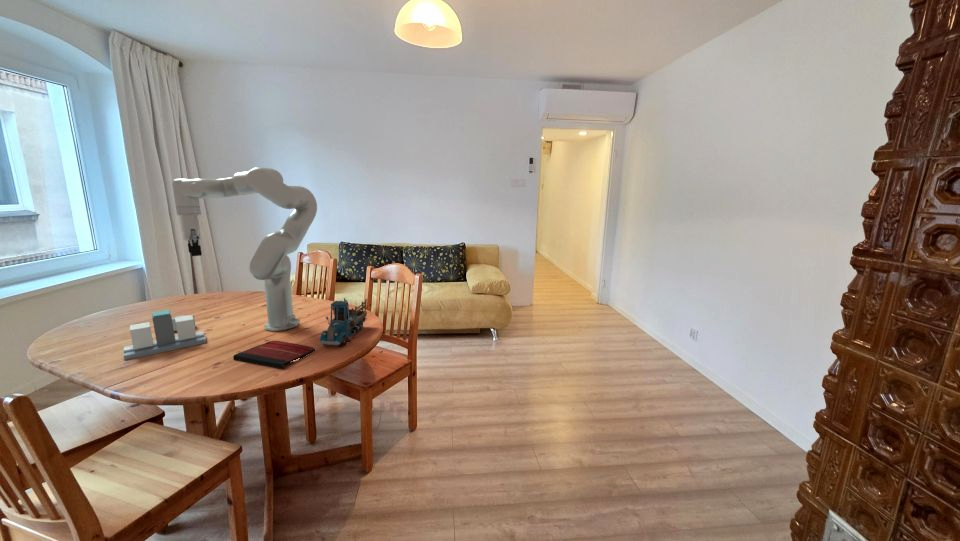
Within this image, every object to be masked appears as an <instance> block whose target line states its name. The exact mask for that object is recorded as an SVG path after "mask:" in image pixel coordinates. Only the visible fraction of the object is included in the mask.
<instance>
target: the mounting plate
mask: <svg viewBox="0 0 960 541" xmlns="http://www.w3.org/2000/svg"><path fill="white" fill-rule="evenodd" d="M195 332H196V333H198V332H203V330H200V331H195ZM175 337H178V335H175ZM153 341H156V339H155V340H153ZM206 343H207V339H206V337H205V335H204V336H203V337H199V338H194V339H189V340H184V341H179V342H174V343H169V344H164V345H159V346H154V347H149V348H144V349H139V350H134V351H130V352H125V353H124V352H123V359H124V361H126V360H131V359H136V358H141V357H145V356H150V355H155V354H160V353H164V352H168V351H172V350H173V351H174V350H178V349H179V350H180V349H182V348H187V347H192V346H196V345H201V344H206ZM132 345H133V344H130V345H124V347H127V346H132Z"/></svg>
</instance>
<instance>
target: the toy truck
mask: <svg viewBox="0 0 960 541" xmlns="http://www.w3.org/2000/svg"><path fill="white" fill-rule="evenodd" d="M367 300H368V299H367V298H365V300H364V302H363V301H361V303H360V304H359V305H358V306H354V307H355V308H354V307H352V308H351V309H350V306H349V301H348V300H347V299H346V297H344V298H343V300H335V301H333V302H332V303H331V304H330V318H329V316H327V315H326V316H325V319H326V321H327V322H326V323H327V324H328V327H327V330H323V331H322V332H321V333H320V337H319V344H320V345H322V346H328V345H329V346H332V345H333V346H342V347H343V346H347V345H346V344H348V343H347V342H351V343H352V339H349V338H352V337H353V336H355V335H356V334H357V333H358V332H359V331H362V329H363V327H364V323H365V321H366V320H367V319H368V318H367V316H368V310H367V309H366V308H367ZM333 317H334V318H333ZM329 319H330V320H329ZM345 338H347V340H346V339H345Z"/></svg>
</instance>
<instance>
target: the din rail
mask: <svg viewBox="0 0 960 541" xmlns="http://www.w3.org/2000/svg"><path fill="white" fill-rule="evenodd" d="M197 332H198V333H196V337H194V338H199V337H203V336H205V333H204V331H202V332H200V331H197ZM194 338H189V339H194ZM189 339H184V340H189ZM184 340H179V338H178V337H175V341H174V342H179V341H184ZM174 342H169V343H174ZM169 343H164V344H169ZM164 344H159V345H164ZM131 345H132V346H128V345H126V346H127V347H125V346H124V347H123V354H124V353H125V352H130V351H134V350H139V349H144V348H149V347H154V346H159V345H157V341H154V340H153V346H149V347H144V348H139V349H133V344H131Z"/></svg>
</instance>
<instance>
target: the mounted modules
mask: <svg viewBox="0 0 960 541" xmlns="http://www.w3.org/2000/svg"><path fill="white" fill-rule="evenodd" d="M194 319H195V318H194ZM194 319H193V317H192V314H190V315H188V316H182V317H177V318H175V322H176V328H177V331H176V333H177V336H178V338H179V340H184V339H189V338H194V337H196V332H197V331H196V327H195V326H194ZM129 332H130V333H129V334H130V338H131V345H133V349H139V348H144V347H149V346H153V341H154V340H153V335H152V329H151V323H150V321H147V322H143V323H142V322H141V323H137V324H135V323H134V324H130V325H129Z"/></svg>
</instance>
